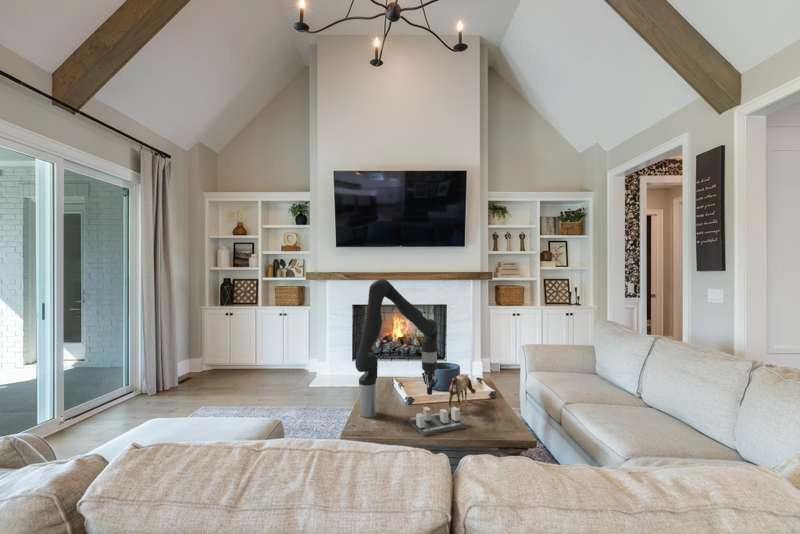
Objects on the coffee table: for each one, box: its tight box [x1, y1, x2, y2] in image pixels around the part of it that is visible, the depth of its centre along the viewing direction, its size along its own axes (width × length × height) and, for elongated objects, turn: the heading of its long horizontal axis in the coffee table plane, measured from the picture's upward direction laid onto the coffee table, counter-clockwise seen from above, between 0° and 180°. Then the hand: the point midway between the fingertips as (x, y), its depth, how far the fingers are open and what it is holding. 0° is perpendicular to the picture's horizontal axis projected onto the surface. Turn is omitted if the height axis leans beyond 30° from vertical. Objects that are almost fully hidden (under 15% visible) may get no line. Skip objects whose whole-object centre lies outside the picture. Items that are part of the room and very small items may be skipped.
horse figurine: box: [448, 374, 477, 414], centre depth 227 cm, size 31×8×21 cm, turn 149°
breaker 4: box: [451, 406, 461, 421], centre depth 205 cm, size 4×2×6 cm, turn 22°
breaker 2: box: [422, 406, 432, 421], centre depth 206 cm, size 4×3×6 cm, turn 22°
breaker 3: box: [439, 408, 449, 423], centre depth 203 cm, size 4×2×6 cm, turn 22°
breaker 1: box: [415, 412, 425, 428], centre depth 198 cm, size 4×2×6 cm, turn 22°
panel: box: [407, 412, 465, 437], centre depth 204 cm, size 18×23×2 cm
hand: (429, 394), depth 203 cm, fingers closed
